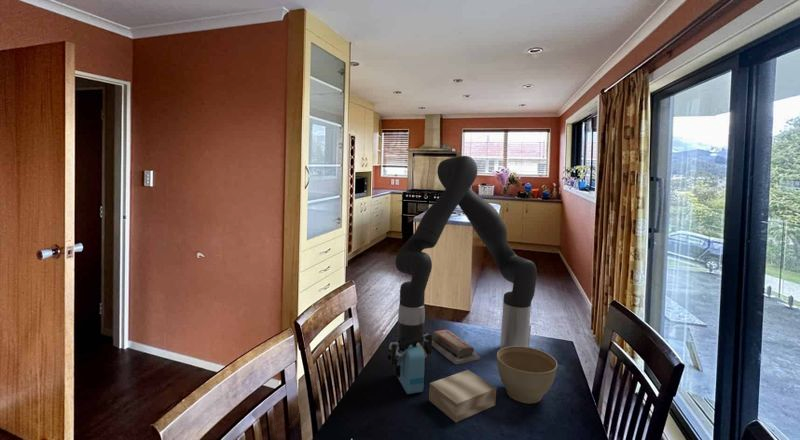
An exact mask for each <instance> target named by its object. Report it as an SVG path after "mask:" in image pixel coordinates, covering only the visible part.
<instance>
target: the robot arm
mask: <svg viewBox="0 0 800 440" xmlns="http://www.w3.org/2000/svg"><path fill="white" fill-rule="evenodd" d="M436 172H437V177H438V180H439V182H440V184H441V185H442V187H443V188H444V191H442V193H441V195H440V196H439V197H438V198H437V199H436V200H435V201H434V202H433V204H431V205H430V207H428V209H427V210H426V211H425V213H424V214H423V215H422V218H421V219H420V222H419V223H418V226H417V227H416V229H415V232H414V233H413V234H412V235H411V236H410V237H409V238H408V240H407V241H406V242H405V243H404V244H403V245H402V246H401V248H400V249H399V250H398V252H397V254H396V257H395V260H394V261H395V263H394V264H395V267H396V269H397V271H399V272H400V273H403V274H406V275H409V276H411V281H405V282H403V283H402V284H401V285H400V287H399V306H398V314H397V317H398V318H397V335H398V338H397V340H398V341H394V342H392V341H388V343H387V352H386V355H387V356H386V362H388V363H389V364H390V365H391V366H392V373H393V375H394V376H395V377H396V378H397V379H398V377H400V372H401V365H400V364H401V362H402V360H403V359H405V352H406V351H405V349H411V348H412V347H413V346H416V347H420V348H421V350H422V351H423V353H424V356H425V363H424V368H425V367H426V365H427V357H428V355H431V354H432V353H433V346H432V336H433V335H431V334H430V333H428V332H427V331H425V317H426V316H425V313H426V312H425V311H426V310H425V299H426V297H425V294H426V293H425V292H426V288H427V285H428V282H429V278H430V275H431V273H432V269H433V262H432V259H431V257H430V254H428V253H427V252H424V250H425V249H432V248H435V246H436V245H437V243H438V242H439V239H440V238H441V235H442V233H443V231H444V229H445V228H446V225H447V223H448V221H449V220H450V217H451V216H452V215H453V213H454V211H455V210H456V208H457V207H459V208H460V210H461V211H462V212H463V214H464V215H465V217H466V218H467V219H468V221H469V223H470V224H471V226H472V228H473V229H474V231H475V232H476V234H477V236H478V237H479V238H480V241H482V243H483V245H484V246H485V247H486V249H487V250H488V251H489V254H491V256H492V259H493V260H494V262H495V264H496V266H497V269H498V271H499V272H500V274H501V276H502V277H503V278H504V279H505V280H506V281H508V282H510V283H512V289H511V291H507V292H505V293H504V294H503V298H502V299H503V302H502V313H501V314H502V315H501V331H500V342H499V343H500V344H499V350H500V349H502V348H505V347H510V346H523V347H530V342H531V329H532V325H531V324H530V323H531V322H530V321H531V309H532V308H531V307H532V301H533V298H534V296H535V292H536V285H537V277H538V269H537V266H536V264H535V262H534V261H532V260H529V259H527V258H524V257H521V256H519V255H517V254H516V252H515V251H513V249H512V247H511V246H510V244H509V242H508V233H507V226H506V224H505V222H504V220H503V218H502V216H500V214H499V212H498V211H497V209H496V208H495V207H494V206H493V205H492V204H491V203H489V202H488V201H487V200H485V199H484V198H483V197H482V196H480V195H478V194H477V193H476V192H475V191H474V190H473V189H472V187H471V186H472V185H473V184H474V183H475V180H476V178H477V176H478V165H477V163H476V161H475V159H473V158H472V157H471V156H469V155H459V156H456V157H450V158H446V159H443V160H442V161H440V162H439V164H438V166H437V171H436ZM422 344H423V346H422ZM397 347H398V349H397ZM401 351H402V352H403V354H401ZM397 359H398V360H397Z"/></svg>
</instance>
